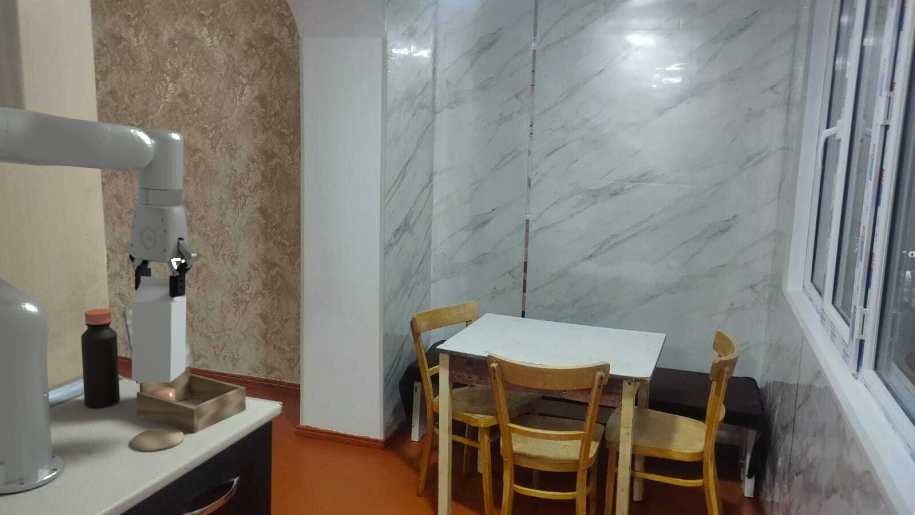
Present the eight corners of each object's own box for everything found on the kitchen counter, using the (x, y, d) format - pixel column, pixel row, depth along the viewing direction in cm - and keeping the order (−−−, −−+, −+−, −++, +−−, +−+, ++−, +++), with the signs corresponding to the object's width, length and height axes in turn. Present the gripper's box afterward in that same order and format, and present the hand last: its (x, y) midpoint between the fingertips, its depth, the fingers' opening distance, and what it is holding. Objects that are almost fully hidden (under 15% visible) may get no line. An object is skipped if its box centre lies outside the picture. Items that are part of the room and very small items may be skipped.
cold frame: (194, 433, 136) (191, 325, 133) (127, 412, 145) (122, 310, 141) (245, 409, 149) (244, 310, 145) (181, 392, 157) (178, 297, 153)
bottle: (110, 409, 146) (106, 316, 143) (78, 408, 146) (72, 315, 143) (125, 397, 153) (122, 308, 149) (94, 396, 153) (90, 307, 149)
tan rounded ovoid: (163, 420, 142) (162, 396, 141) (147, 415, 144) (147, 392, 143) (180, 412, 146) (179, 390, 145) (165, 408, 148) (164, 386, 147)
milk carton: (170, 383, 129) (171, 282, 126) (131, 381, 129) (132, 279, 126) (185, 372, 136) (186, 275, 133) (148, 369, 136) (149, 273, 133)
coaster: (155, 455, 126) (155, 452, 126) (121, 444, 130) (120, 441, 130) (193, 437, 134) (193, 434, 134) (160, 427, 138) (160, 424, 138)
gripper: (109, 195, 128) (109, 289, 130) (179, 203, 120) (178, 303, 123) (143, 194, 134) (143, 283, 137) (212, 202, 127) (210, 296, 130)
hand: (159, 292), depth 130 cm, fingers closed on milk carton, 8 cm apart
